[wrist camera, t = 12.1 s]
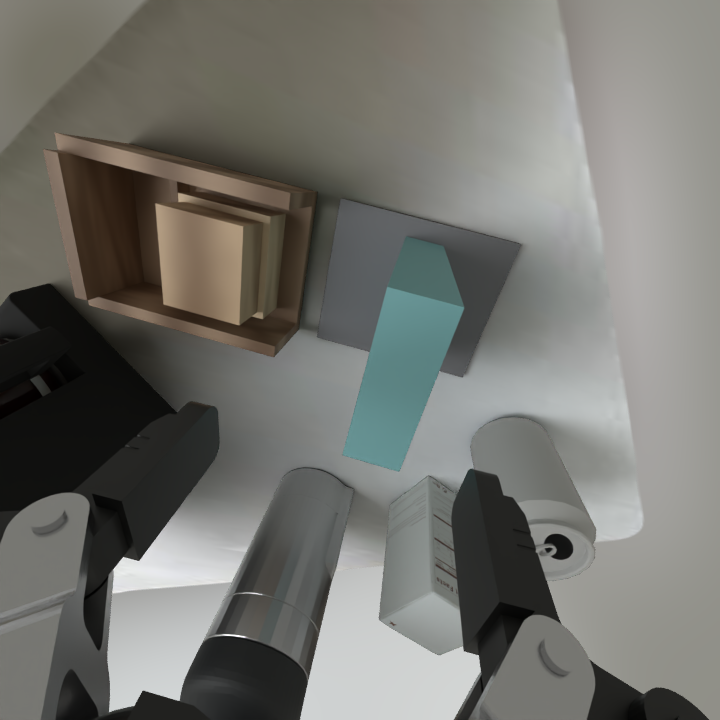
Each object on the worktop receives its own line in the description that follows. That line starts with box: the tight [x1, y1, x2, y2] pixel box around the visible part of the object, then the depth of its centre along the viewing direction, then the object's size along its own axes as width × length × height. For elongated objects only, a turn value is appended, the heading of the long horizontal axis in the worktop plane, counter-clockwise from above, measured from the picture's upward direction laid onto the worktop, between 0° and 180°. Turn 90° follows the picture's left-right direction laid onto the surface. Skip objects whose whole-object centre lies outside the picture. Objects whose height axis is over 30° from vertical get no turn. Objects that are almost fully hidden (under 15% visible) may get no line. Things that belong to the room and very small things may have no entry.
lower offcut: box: [178, 192, 286, 319], centre depth 27 cm, size 7×8×3 cm
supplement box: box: [379, 476, 463, 655], centre depth 34 cm, size 7×7×13 cm
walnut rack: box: [43, 133, 318, 357], centre depth 26 cm, size 16×12×7 cm
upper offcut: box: [155, 202, 263, 325], centre depth 24 cm, size 6×7×3 cm
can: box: [470, 417, 596, 581], centre depth 28 cm, size 8×8×12 cm
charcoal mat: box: [317, 198, 521, 377], centre depth 28 cm, size 14×12×1 cm
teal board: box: [343, 236, 464, 472], centre depth 21 cm, size 3×9×15 cm, turn 167°
